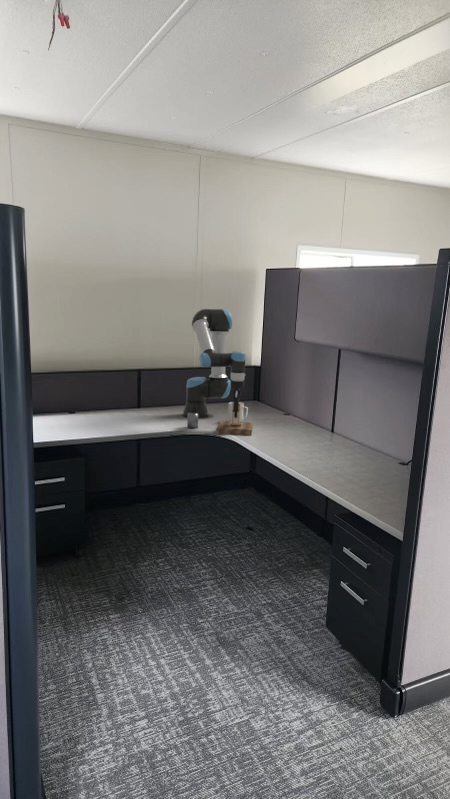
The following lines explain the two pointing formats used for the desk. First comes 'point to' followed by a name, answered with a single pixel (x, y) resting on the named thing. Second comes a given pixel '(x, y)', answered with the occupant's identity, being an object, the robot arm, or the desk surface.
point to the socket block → (235, 428)
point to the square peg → (238, 415)
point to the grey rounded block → (192, 420)
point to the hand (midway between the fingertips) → (235, 422)
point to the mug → (240, 411)
